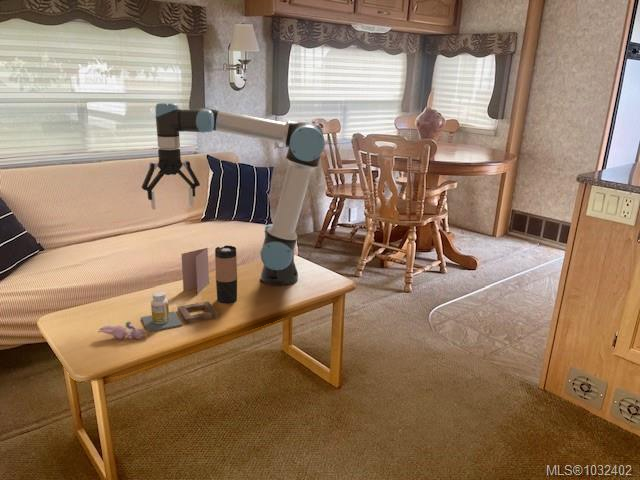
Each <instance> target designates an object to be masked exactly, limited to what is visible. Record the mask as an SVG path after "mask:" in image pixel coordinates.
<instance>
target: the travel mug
mask: <svg viewBox="0 0 640 480" xmlns="http://www.w3.org/2000/svg"><path fill="white" fill-rule="evenodd" d="M214 256H215V257H214V259H215V260H214V261H215V285H216V286H215V287H216V297H217V299H216V300H217V302H218V303H219V304H223V305H229V304H234V303H235V302H237V301H238V263H237V262H238V260H237V259H238V257H237V247H235V246H232V245H224V246H222V247H220V246H217V247H216V248H215V249H214Z"/></svg>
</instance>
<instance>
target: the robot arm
mask: <svg viewBox="0 0 640 480" xmlns="http://www.w3.org/2000/svg"><path fill="white" fill-rule="evenodd" d="M155 125H156V136H157V138H156V140H157V147H158V150H157V151H158V152H157V153H158V154H157V155H158V163H154V162H150V163H149V167H148V171H147V173H146V176H145V177H144V181H143V183H142V185H141V189H142V190H143V191H147V199H148V200H149V201H151V209H152V210H153V211H154V210H156V201H155V199H156V198H155V191H154V190H153V189H154V188H155V187H156V185H158V183H159V182H160V180H161V179H162V178H163V177H164V176H165V175H166V176H171V175H172V176H173V175H175V176H176V175H177V174H178V175H179V176H180V177H181V178H182V179H183V180H184V181H185V182H186V184H187V185H189V186H188V190H187V191H188V203H189V204H188V205H189V206H190V207H194V197H196V188H197V187H199V186H200V185H201V183H200V181H199V179H198V178H197V176H196V174H195V172H194V170H193V169H192V167H191V163H190V161H188V160H185V161H182V160H181V159H182V158H181V157H182V156H181V149H180V147H181V142H180V141H181V140H180V133H181V132H190V133H191V132H192V133H201V134H202V133H212V132H213V131H217V132H220V133H221V132H222V133H225V134H226V133H227V134H231V135H236V136H242V137H247V138H252V139H253V138H254V139H258V140H263V141H269V142H274V143H280V144H282V145H283V146H284V147H287V148H288V149H287V152H286V157H285V159H286V161H287V163H288V166H287V170H286V173H285V177H284V181H283V185H282V189H281V191H280V196H279V200H278V203H277V207H276V211H275V214H274V217H273V218H274V219H273V222H272V223H269V224H266V225H265V227H264V240H263V242H262V243H263V244H262V248H261V250H260V251H259V252H260V260H261V262H262V263H263V266H262V268H261V269H262V270H261V273H260V280H261V281H262V283H264V284H267V285H271V286H278V287H279V286H289V285H292V284H294V283H296V282H297V281H298V280H299V273H298V270H297V267H296V264H295V248H296V243H297V239H298V235H297V233H296V230H297V226H298V225H297V224H298V222H299V219H300V216H301V215H300V214H301V211H302V208H303V204H304V199H305V197H306V193H307V189H308V186H309V183H310V178H311V175H312V172H313V171H314V170H315V169H318V166H319V162H320V159H321V155H322V153H323V152H324V149H325V143H326V142H325V136H324V133H323V131H322V129H321V128H320V127H319V126H318V125H317V124H315V123H312V122H303V121H302V122H300V121H292V120H288V121H287V122H285V121H284V122H282V121H277V120H273V119H267V118H266V119H265V118H261V117H256V116H250V115H245V114H239V113H234V112H228V111H223V110H217V109H213V108H211V107H207V106H206V107H205V106H203V107H202V106H201V107H199V108H197V109H196V108H195V109H181V108H180V109H179V105H178V103H175V102H158V103H157V104H156V105H155ZM182 167H184V168H185V169H186V171H187V172H188V173H189V175H190V178H191V179H192V181H193V182H192V181H191V180H190V179H189V177H187V175H186V174H184V172H183V171H182V170H181V168H182ZM157 168H159V171H158V173H157V174H156V175H155V177H154V178H153V179H152V177H153V174H154V172H155V170H157ZM151 179H152V181H151Z"/></svg>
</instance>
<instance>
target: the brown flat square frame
mask: <svg viewBox="0 0 640 480" xmlns="http://www.w3.org/2000/svg"><path fill="white" fill-rule="evenodd" d="M201 310H205V312H203V313H197V314H190V312H193V311H201ZM177 312H178V313H179V315H180V318H182V319H183V322H184V323H185V324H193V323H197V322H201V321H209V320H212V319H218V318H219V313H218V311H217V310H216V309H215V307H214V306H213V305H212V304H211V302H210V301H209V300H207V301H203V302H202V301H201V302H196V303H195V302H194V303H190V304H185V305H179V306H177Z"/></svg>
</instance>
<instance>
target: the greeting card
mask: <svg viewBox="0 0 640 480" xmlns="http://www.w3.org/2000/svg"><path fill="white" fill-rule="evenodd" d="M208 249H209V248H208V247H205V248H201V249H200V248H199V249H196V250H192V251H188V252H184V253H181V254H180V255H181V270H182V271H181V272H182V287H183V291H188V290H192V289H195V288H196V289H197V291H196V292H197V295H199V294H200V293H201V292H202V291H203V290H204V289H206V287H207V286H208V285H209V284H210V277H209V276H210V275H209V274H210V273H209V253H208V252H209V250H208Z"/></svg>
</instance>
